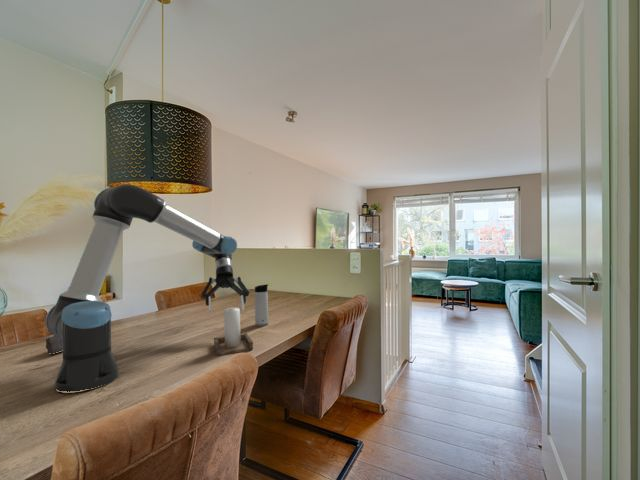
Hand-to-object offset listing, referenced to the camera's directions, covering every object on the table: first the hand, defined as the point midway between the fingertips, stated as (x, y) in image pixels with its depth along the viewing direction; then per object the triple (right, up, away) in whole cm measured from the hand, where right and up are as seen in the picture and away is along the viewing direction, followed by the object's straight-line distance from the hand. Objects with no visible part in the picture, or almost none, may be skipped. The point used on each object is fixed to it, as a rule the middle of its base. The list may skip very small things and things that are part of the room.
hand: (226, 310), depth 127 cm
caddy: (+6, -12, -10) cm, 17 cm away
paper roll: (+6, -11, -10) cm, 16 cm away
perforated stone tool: (-60, -13, -10) cm, 63 cm away
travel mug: (+11, -12, +21) cm, 27 cm away
